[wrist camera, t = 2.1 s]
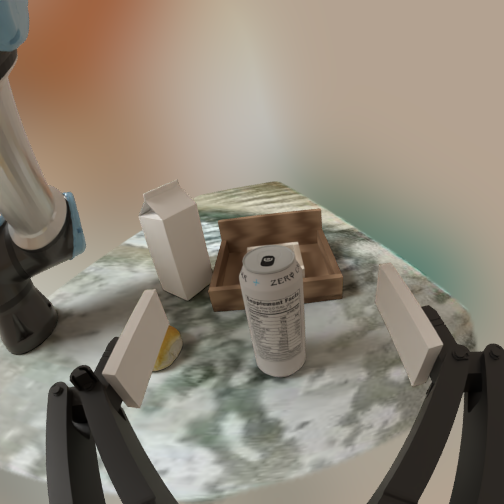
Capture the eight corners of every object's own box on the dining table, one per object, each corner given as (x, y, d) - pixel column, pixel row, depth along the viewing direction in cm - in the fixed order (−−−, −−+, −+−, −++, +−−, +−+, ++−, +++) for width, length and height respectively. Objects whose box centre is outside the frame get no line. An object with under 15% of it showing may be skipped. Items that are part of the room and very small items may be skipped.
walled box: (213, 311, 44) (201, 268, 40) (226, 255, 59) (218, 220, 56) (342, 298, 42) (343, 253, 38) (321, 244, 58) (320, 208, 54)
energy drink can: (306, 344, 35) (302, 240, 28) (304, 381, 30) (299, 275, 23) (261, 343, 36) (243, 243, 29) (253, 379, 31) (228, 276, 24)
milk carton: (215, 280, 52) (191, 179, 43) (187, 302, 47) (155, 194, 38) (189, 271, 56) (165, 179, 47) (163, 290, 51) (131, 193, 42)
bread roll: (144, 328, 42) (135, 309, 40) (191, 338, 39) (183, 318, 37) (116, 364, 35) (104, 345, 33) (164, 380, 32) (153, 361, 31)
